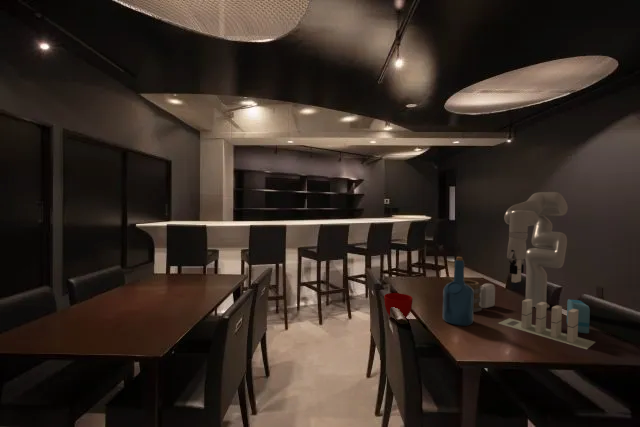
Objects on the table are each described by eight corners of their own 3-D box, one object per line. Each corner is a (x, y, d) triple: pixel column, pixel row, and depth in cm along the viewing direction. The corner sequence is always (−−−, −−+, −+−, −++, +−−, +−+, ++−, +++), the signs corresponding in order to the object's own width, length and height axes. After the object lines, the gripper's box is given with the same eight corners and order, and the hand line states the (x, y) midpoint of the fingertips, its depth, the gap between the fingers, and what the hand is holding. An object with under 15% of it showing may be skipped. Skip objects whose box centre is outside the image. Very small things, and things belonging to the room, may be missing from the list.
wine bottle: (449, 314, 156) (451, 254, 156) (477, 322, 147) (479, 257, 146) (436, 321, 146) (438, 256, 146) (466, 329, 137) (468, 260, 136)
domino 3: (540, 328, 139) (541, 301, 138) (545, 330, 137) (546, 302, 137) (535, 331, 135) (536, 304, 135) (540, 333, 134) (541, 305, 133)
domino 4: (555, 333, 134) (556, 305, 134) (561, 334, 133) (562, 306, 133) (550, 336, 131) (551, 307, 130) (555, 337, 129) (557, 308, 129)
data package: (589, 335, 134) (590, 307, 134) (576, 333, 136) (577, 305, 135) (578, 325, 145) (579, 299, 145) (566, 324, 147) (567, 298, 147)
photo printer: (487, 304, 176) (488, 281, 176) (495, 306, 172) (496, 283, 172) (477, 306, 170) (478, 283, 170) (485, 309, 167) (486, 285, 166)
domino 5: (571, 337, 130) (573, 308, 130) (577, 339, 128) (578, 309, 128) (566, 341, 126) (568, 311, 126) (572, 342, 125) (573, 312, 125)
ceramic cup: (410, 312, 159) (411, 292, 159) (412, 323, 142) (413, 301, 142) (384, 309, 162) (384, 290, 161) (383, 321, 145) (384, 299, 145)
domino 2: (526, 325, 143) (527, 298, 143) (531, 326, 142) (532, 299, 141) (521, 327, 139) (522, 300, 139) (525, 329, 138) (526, 301, 138)
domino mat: (509, 319, 152) (509, 318, 152) (595, 342, 126) (595, 341, 126) (497, 324, 145) (497, 323, 145) (586, 350, 119) (586, 349, 119)
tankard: (485, 309, 166) (486, 281, 166) (472, 313, 159) (473, 283, 158) (450, 299, 182) (451, 273, 182) (437, 303, 175) (438, 276, 175)
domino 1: (516, 280, 156) (517, 256, 155) (520, 281, 154) (521, 256, 154) (511, 281, 152) (512, 256, 152) (515, 282, 150) (516, 257, 150)
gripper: (517, 235, 161) (515, 270, 161) (501, 235, 151) (499, 273, 151) (534, 236, 155) (532, 273, 155) (518, 237, 145) (517, 276, 145)
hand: (516, 272), depth 153 cm, fingers closed on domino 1, 6 cm apart
